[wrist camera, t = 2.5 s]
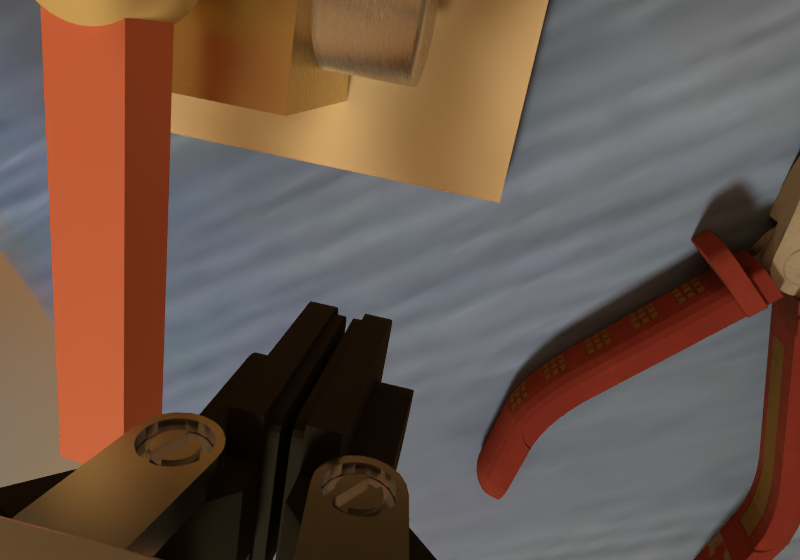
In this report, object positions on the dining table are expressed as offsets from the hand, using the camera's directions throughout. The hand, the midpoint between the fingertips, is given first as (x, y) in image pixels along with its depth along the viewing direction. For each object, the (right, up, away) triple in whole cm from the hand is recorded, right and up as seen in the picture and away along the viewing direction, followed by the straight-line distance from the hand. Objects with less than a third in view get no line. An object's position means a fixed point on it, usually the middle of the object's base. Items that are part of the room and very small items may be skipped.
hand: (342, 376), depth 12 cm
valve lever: (-5, +4, +1) cm, 6 cm away
